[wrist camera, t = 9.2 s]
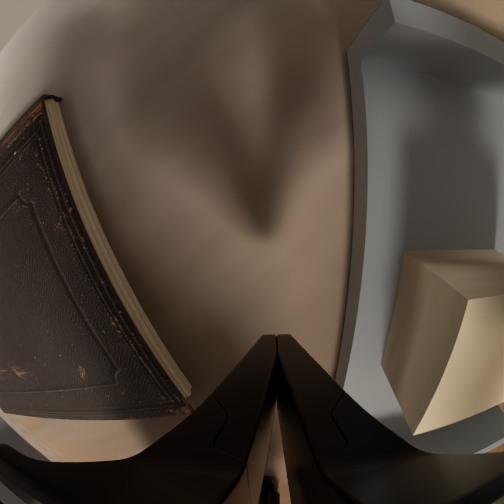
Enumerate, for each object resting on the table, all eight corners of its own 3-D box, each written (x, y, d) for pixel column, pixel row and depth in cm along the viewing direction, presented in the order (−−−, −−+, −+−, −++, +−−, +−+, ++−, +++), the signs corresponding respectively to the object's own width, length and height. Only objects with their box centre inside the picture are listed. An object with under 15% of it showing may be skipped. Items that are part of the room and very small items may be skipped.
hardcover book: (201, 383, 14) (192, 414, 11) (15, 400, 17) (4, 413, 15) (68, 97, 10) (37, 90, 7) (-59, 259, 13) (-74, 266, 11)
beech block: (380, 365, 10) (412, 435, 6) (403, 250, 9) (468, 299, 5) (467, 349, 10) (508, 399, 6) (494, 249, 9) (557, 283, 5)
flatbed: (321, 441, 14) (328, 500, 10) (346, 50, 8) (387, -7, 4) (483, 402, 13) (508, 440, 9) (543, 117, 7) (594, 117, 3)
